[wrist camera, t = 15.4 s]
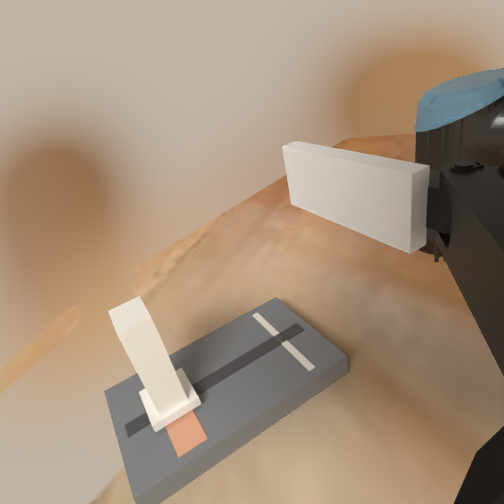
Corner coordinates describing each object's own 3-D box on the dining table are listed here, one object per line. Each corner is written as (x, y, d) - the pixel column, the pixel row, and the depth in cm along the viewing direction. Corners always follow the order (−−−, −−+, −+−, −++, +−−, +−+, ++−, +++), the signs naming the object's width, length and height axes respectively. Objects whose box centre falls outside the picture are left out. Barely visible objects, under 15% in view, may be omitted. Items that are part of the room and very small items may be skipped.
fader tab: (184, 373, 41) (147, 289, 35) (201, 403, 37) (163, 314, 31) (142, 397, 39) (96, 313, 33) (155, 432, 35) (106, 343, 29)
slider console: (278, 311, 51) (275, 296, 50) (348, 371, 40) (347, 355, 39) (112, 404, 43) (103, 390, 42) (144, 514, 32) (133, 499, 31)
